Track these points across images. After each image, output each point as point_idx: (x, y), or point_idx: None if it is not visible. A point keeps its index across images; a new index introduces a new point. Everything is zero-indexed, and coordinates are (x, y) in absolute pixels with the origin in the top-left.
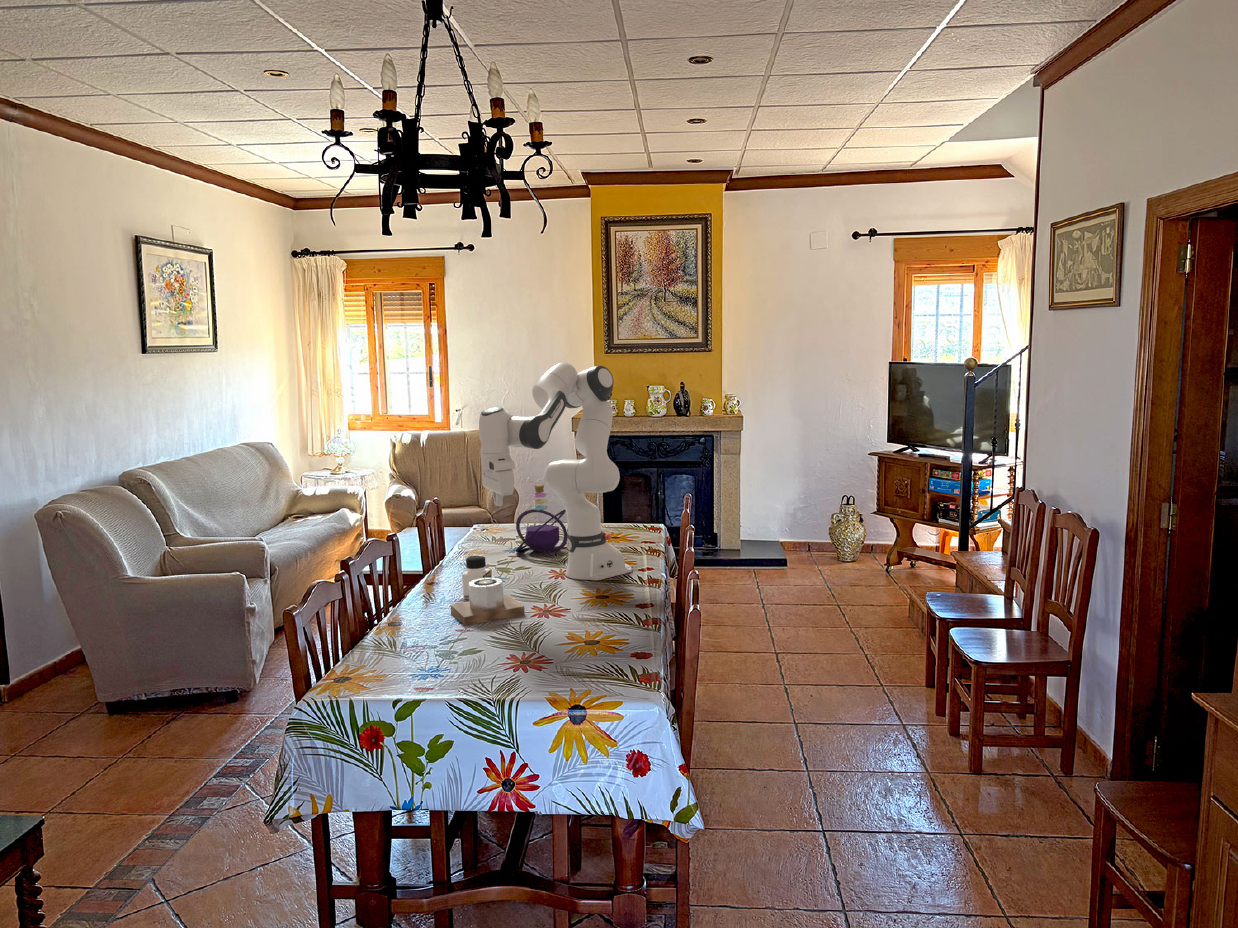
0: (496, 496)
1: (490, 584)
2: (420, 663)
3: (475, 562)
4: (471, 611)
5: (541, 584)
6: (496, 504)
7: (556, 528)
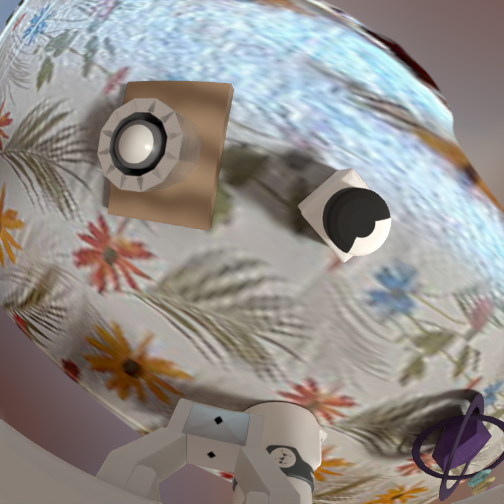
0: (141, 456)
1: (115, 149)
2: (62, 13)
3: (330, 204)
4: None
5: (283, 349)
6: (197, 407)
7: (443, 468)
